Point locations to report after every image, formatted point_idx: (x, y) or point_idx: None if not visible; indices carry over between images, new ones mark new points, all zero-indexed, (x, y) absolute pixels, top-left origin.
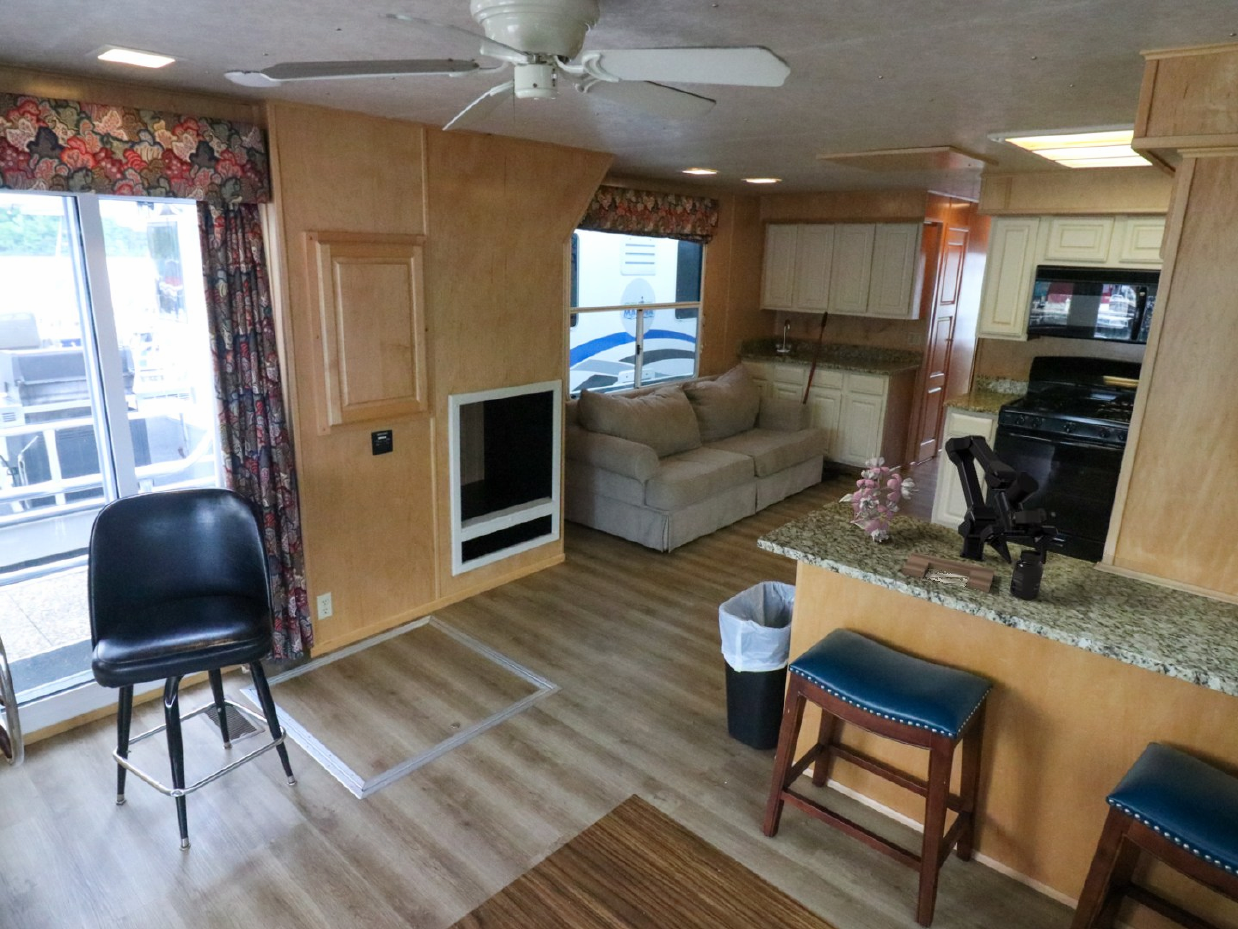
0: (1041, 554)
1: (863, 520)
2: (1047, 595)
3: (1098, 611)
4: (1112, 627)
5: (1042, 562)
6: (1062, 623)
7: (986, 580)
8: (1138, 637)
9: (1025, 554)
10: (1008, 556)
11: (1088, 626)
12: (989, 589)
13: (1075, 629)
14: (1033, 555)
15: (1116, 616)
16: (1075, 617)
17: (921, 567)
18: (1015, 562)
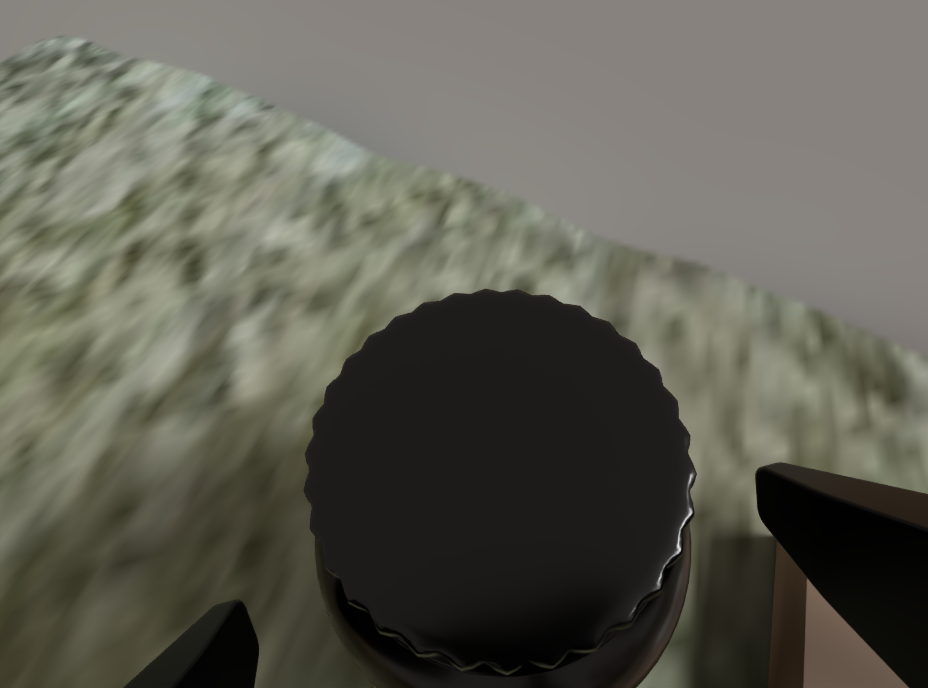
0: (314, 416)
1: None
2: (290, 634)
3: (82, 420)
4: (161, 244)
5: (245, 660)
6: (400, 222)
7: (855, 680)
8: (113, 187)
9: (630, 340)
10: (870, 488)
11: (281, 225)
12: (783, 572)
13: (365, 184)
14: (502, 301)
15: (22, 377)
16: (290, 302)
17: None
18: (689, 544)
